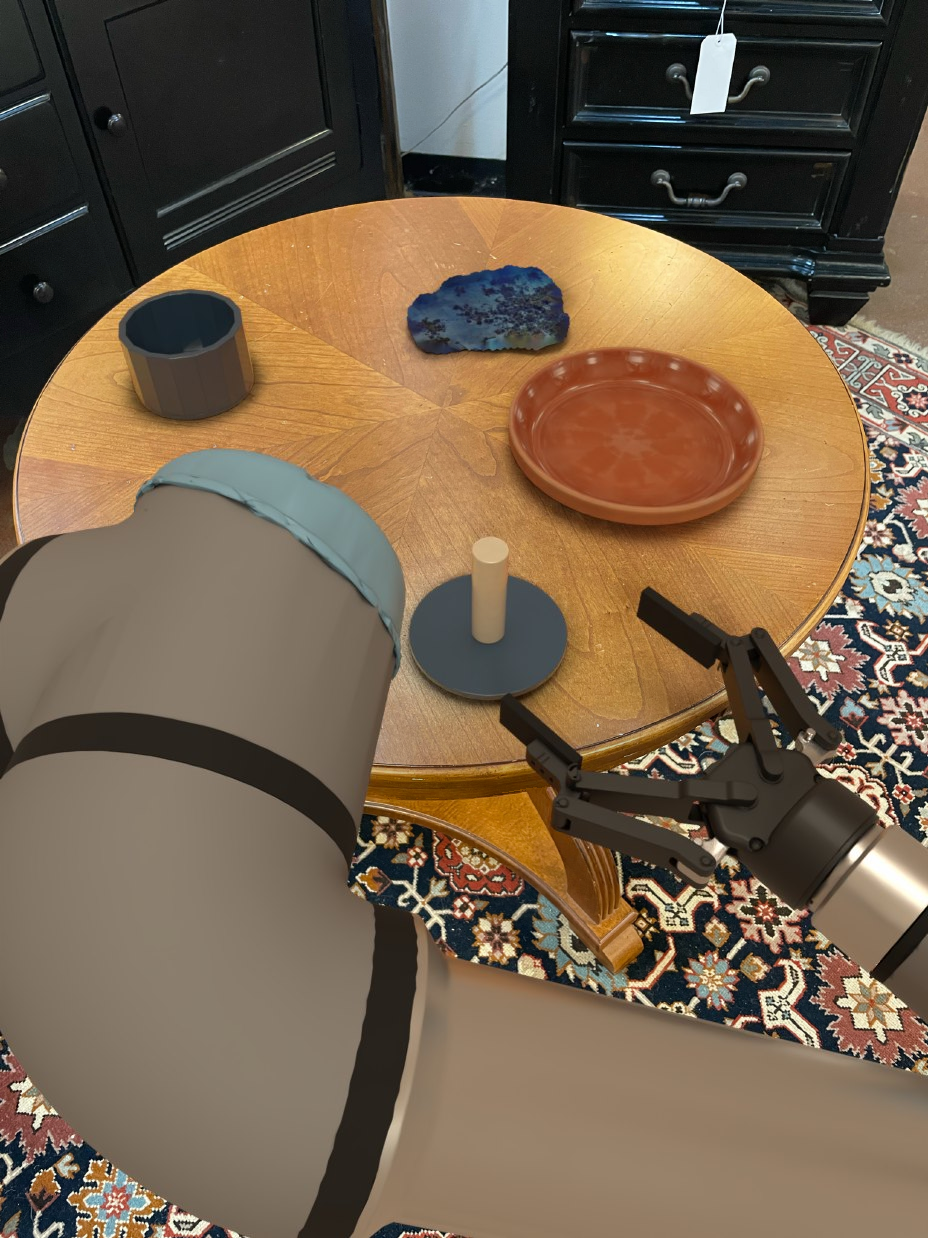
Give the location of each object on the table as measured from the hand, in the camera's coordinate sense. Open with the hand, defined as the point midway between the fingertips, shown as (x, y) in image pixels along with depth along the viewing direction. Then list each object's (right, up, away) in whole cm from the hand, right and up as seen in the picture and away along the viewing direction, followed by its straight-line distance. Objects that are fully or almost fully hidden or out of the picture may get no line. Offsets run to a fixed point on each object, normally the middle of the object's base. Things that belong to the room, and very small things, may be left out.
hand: (575, 651), depth 65 cm
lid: (-6, +1, +9) cm, 11 cm away
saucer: (+8, +18, +24) cm, 31 cm away
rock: (-5, +34, +38) cm, 51 cm away
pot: (-34, +26, +30) cm, 52 cm away
